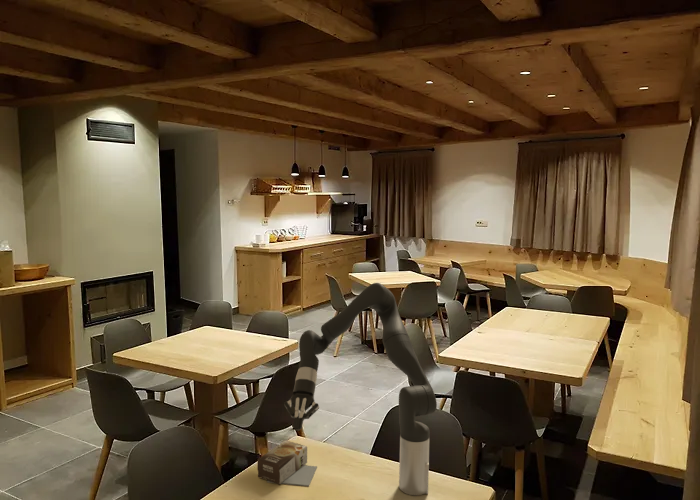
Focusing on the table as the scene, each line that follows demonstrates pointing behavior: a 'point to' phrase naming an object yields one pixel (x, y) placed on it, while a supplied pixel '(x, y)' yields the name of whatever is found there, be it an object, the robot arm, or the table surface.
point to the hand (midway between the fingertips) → (297, 429)
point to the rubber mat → (301, 476)
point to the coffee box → (282, 461)
